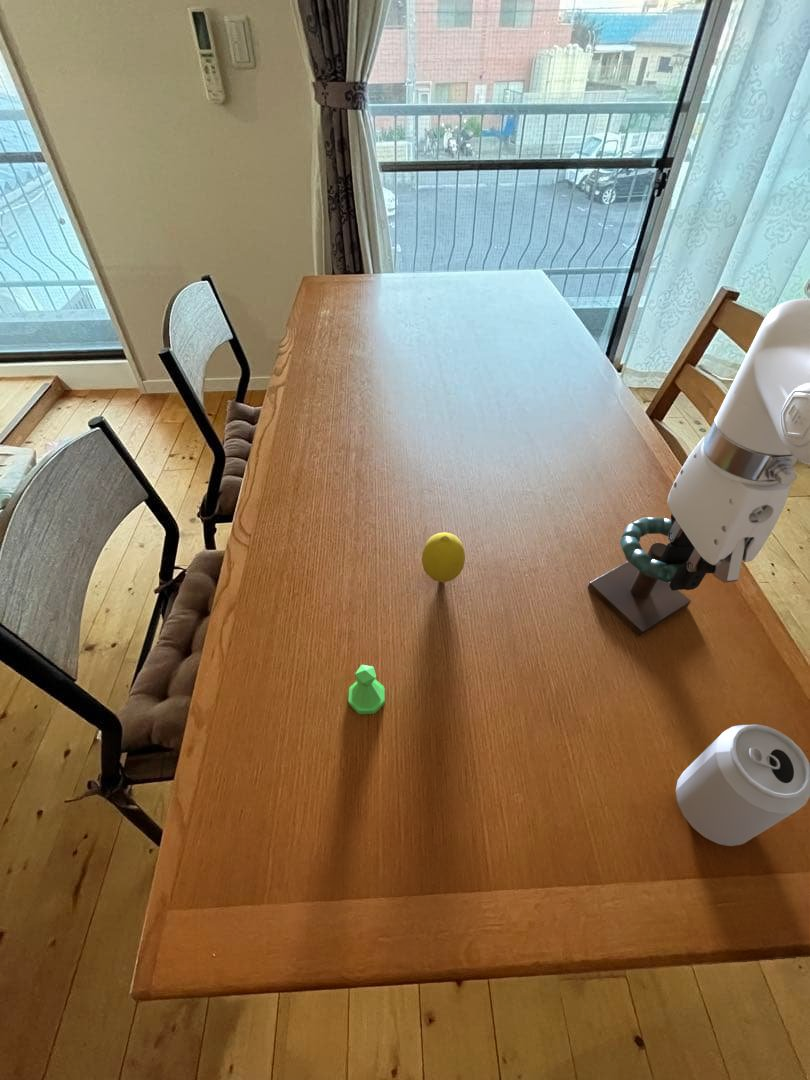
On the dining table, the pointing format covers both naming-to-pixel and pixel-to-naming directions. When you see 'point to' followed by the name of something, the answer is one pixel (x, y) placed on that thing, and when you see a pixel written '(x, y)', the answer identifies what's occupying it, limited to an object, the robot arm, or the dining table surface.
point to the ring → (642, 558)
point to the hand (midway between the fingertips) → (676, 576)
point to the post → (639, 595)
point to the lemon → (443, 557)
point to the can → (744, 784)
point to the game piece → (366, 692)
